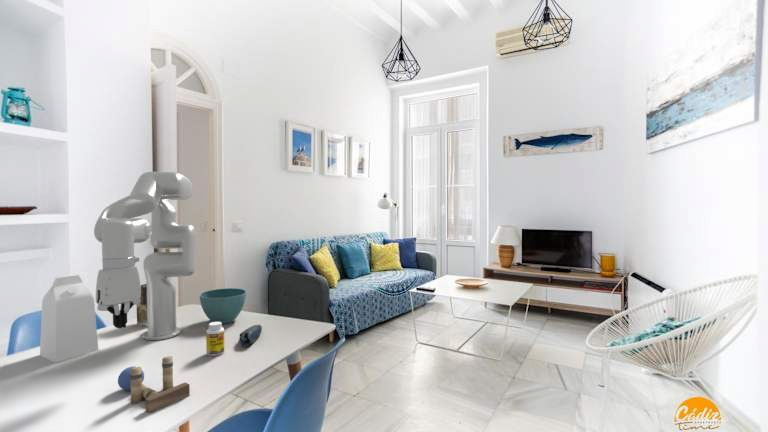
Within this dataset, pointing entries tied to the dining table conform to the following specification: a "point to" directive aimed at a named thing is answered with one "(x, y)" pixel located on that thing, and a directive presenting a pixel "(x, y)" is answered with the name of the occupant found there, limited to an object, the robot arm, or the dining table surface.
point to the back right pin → (136, 385)
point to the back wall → (167, 397)
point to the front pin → (147, 392)
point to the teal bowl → (223, 304)
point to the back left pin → (167, 372)
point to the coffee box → (142, 307)
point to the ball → (126, 379)
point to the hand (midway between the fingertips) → (120, 327)
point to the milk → (68, 320)
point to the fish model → (250, 335)
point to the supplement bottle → (215, 339)
